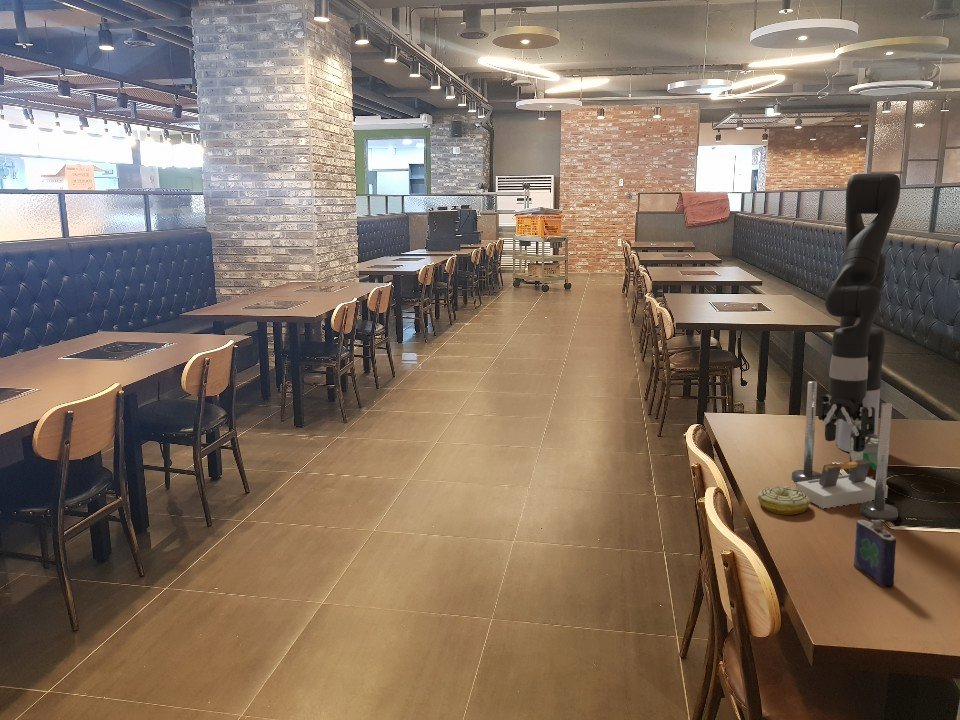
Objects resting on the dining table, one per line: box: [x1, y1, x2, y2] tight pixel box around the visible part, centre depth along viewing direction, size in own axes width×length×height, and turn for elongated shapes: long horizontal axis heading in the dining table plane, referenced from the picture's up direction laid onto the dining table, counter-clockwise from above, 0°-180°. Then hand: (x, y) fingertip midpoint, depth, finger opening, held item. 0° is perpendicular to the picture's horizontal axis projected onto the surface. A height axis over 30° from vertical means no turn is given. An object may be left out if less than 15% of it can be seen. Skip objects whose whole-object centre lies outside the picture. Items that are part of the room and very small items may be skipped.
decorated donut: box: [757, 485, 811, 516], centre depth 163 cm, size 10×11×4 cm
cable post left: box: [791, 380, 822, 483], centre depth 175 cm, size 7×7×24 cm
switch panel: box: [795, 473, 889, 510], centre depth 167 cm, size 9×17×3 cm, turn 106°
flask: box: [853, 519, 897, 590], centre depth 131 cm, size 9×3×11 cm, turn 8°
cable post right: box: [859, 402, 899, 523], centre depth 155 cm, size 7×7×24 cm
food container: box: [848, 430, 879, 481], centre depth 178 cm, size 12×6×10 cm, turn 168°
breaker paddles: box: [819, 459, 871, 488], centre depth 165 cm, size 2×11×5 cm, turn 106°
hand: (843, 445), depth 165 cm, fingers open, 8 cm apart
